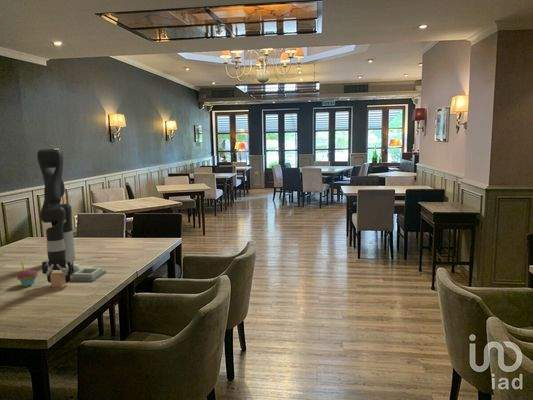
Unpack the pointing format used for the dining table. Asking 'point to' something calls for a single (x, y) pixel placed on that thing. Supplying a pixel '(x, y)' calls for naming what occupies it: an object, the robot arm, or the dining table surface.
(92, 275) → the base board
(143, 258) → the dining table surface
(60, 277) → the block
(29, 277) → the cupcake
